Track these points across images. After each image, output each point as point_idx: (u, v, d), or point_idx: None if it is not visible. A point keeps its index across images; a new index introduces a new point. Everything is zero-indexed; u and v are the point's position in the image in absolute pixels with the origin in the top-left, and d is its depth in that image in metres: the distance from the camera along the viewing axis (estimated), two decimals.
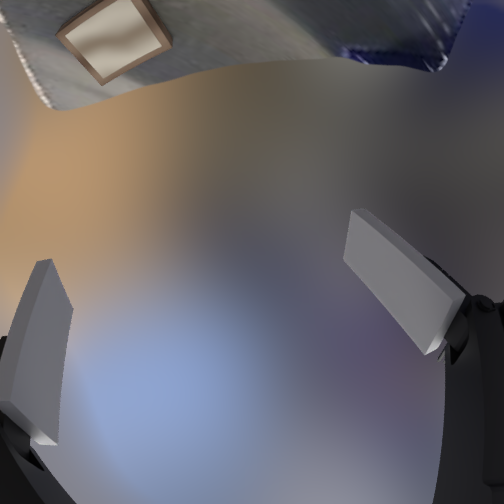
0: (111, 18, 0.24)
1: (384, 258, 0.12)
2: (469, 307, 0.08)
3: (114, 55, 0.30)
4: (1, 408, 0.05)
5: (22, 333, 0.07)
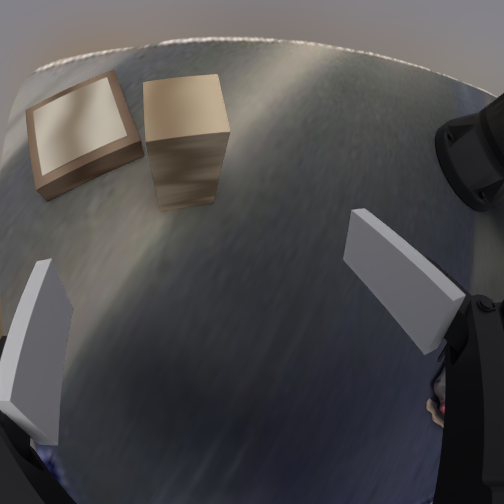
0: (102, 119, 0.25)
1: (384, 258, 0.12)
2: (469, 307, 0.08)
3: (53, 123, 0.24)
4: (1, 408, 0.05)
5: (22, 333, 0.07)
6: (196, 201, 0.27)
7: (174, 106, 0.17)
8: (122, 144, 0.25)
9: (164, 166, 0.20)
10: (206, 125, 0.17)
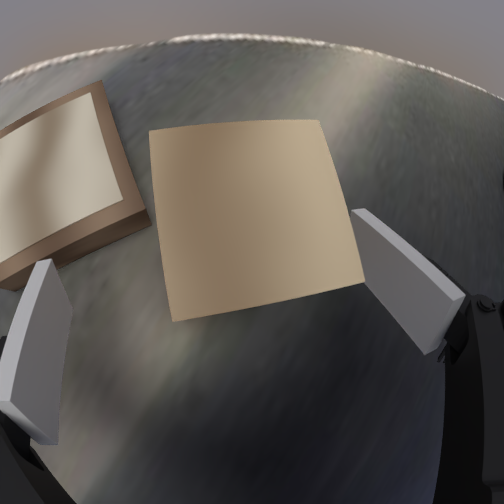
0: (81, 168, 0.16)
1: (384, 258, 0.12)
2: (469, 307, 0.08)
3: (10, 171, 0.15)
4: (1, 408, 0.05)
5: (22, 333, 0.07)
6: None
7: (235, 209, 0.08)
8: (115, 215, 0.16)
9: None
10: (316, 269, 0.08)
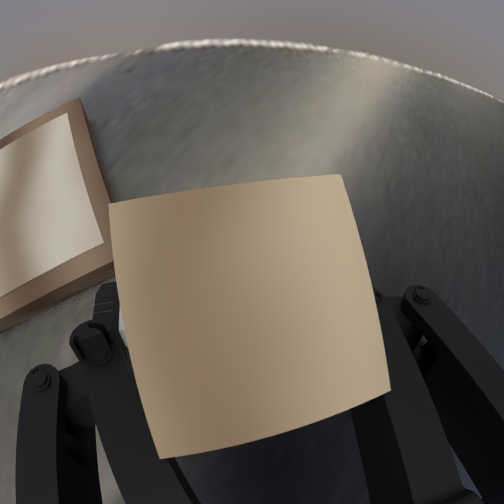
0: (58, 204, 0.14)
1: None
2: None
3: None
4: None
5: None
6: None
7: (230, 322, 0.05)
8: (97, 260, 0.14)
9: None
10: (335, 388, 0.06)
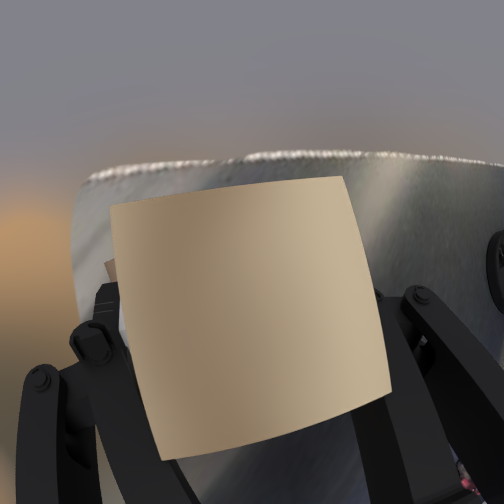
0: None
1: None
2: None
3: None
4: (127, 339, 0.08)
5: None
6: None
7: (232, 324, 0.05)
8: None
9: None
10: (336, 390, 0.06)
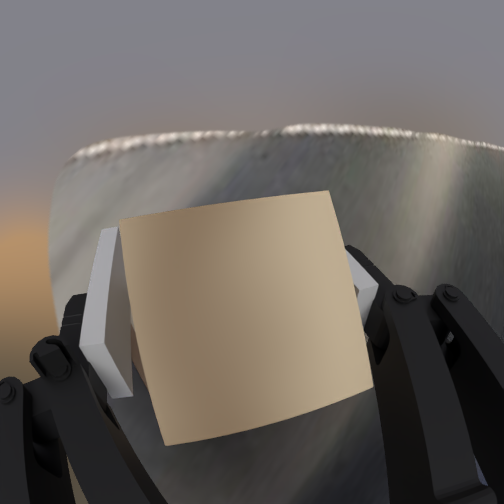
0: None
1: None
2: (384, 302, 0.09)
3: None
4: (88, 354, 0.07)
5: (105, 285, 0.09)
6: None
7: (227, 324, 0.06)
8: None
9: None
10: (321, 383, 0.06)
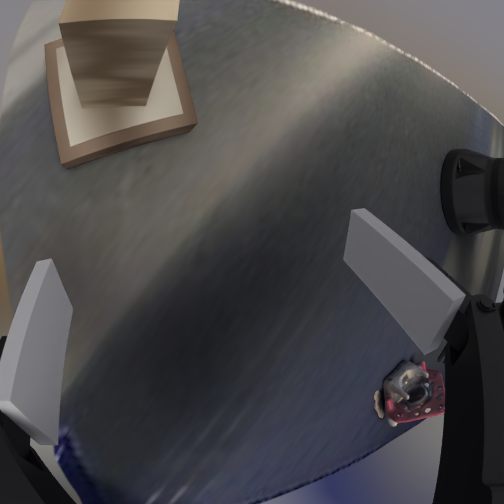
0: None
1: (384, 258, 0.12)
2: (469, 307, 0.08)
3: None
4: (1, 408, 0.05)
5: (22, 333, 0.07)
6: (125, 100, 0.19)
7: None
8: (176, 123, 0.22)
9: (84, 55, 0.11)
10: (146, 9, 0.09)
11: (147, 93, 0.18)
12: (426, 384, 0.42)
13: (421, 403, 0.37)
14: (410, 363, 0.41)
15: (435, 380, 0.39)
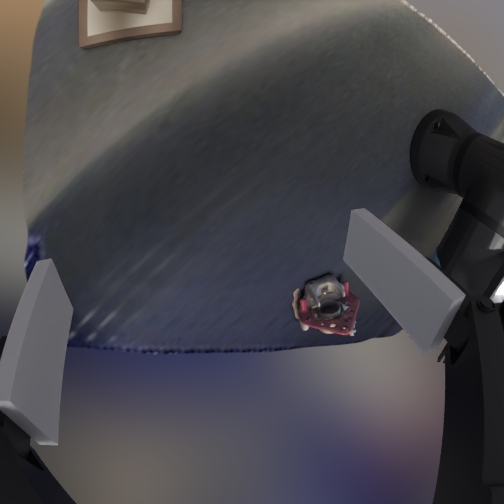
0: None
1: (384, 258, 0.12)
2: (469, 307, 0.08)
3: None
4: (1, 408, 0.05)
5: (22, 333, 0.07)
6: (129, 10, 0.21)
7: None
8: (165, 28, 0.24)
9: None
10: None
11: (143, 8, 0.20)
12: (345, 306, 0.55)
13: (331, 317, 0.50)
14: (334, 277, 0.52)
15: (351, 304, 0.51)
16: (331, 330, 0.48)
